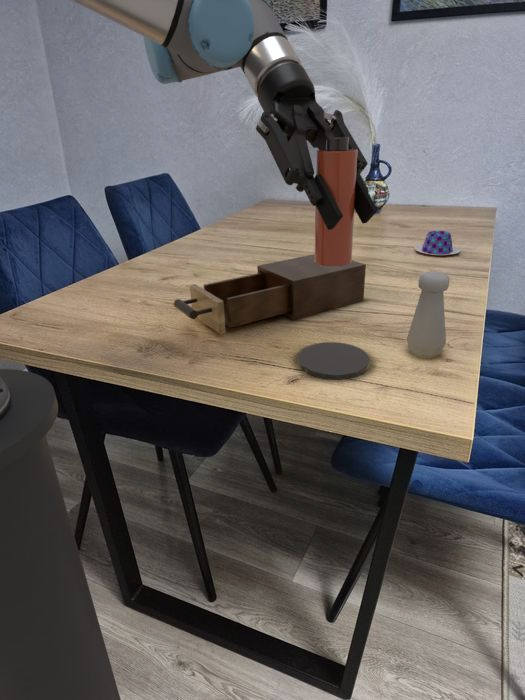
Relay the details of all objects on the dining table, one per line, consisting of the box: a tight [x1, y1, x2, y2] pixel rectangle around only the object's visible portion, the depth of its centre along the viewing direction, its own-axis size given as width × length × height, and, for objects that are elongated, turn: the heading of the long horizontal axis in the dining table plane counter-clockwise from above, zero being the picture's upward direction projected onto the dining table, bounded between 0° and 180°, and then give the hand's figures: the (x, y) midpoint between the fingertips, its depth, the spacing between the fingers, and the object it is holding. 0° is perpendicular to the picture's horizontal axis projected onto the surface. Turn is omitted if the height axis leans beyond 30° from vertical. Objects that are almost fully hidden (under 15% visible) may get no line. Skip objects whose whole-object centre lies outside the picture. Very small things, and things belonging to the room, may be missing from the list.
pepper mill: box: [314, 137, 358, 266], centre depth 63 cm, size 5×5×16 cm
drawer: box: [173, 272, 291, 335], centre depth 87 cm, size 21×11×6 cm, turn 122°
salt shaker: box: [406, 270, 450, 360], centre depth 72 cm, size 6×6×13 cm
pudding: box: [413, 230, 461, 257], centre depth 128 cm, size 12×12×5 cm
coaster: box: [296, 341, 371, 380], centre depth 73 cm, size 11×11×1 cm
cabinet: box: [256, 253, 367, 321], centre depth 96 cm, size 18×13×8 cm
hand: (353, 219), depth 61 cm, fingers closed on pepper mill, 5 cm apart
